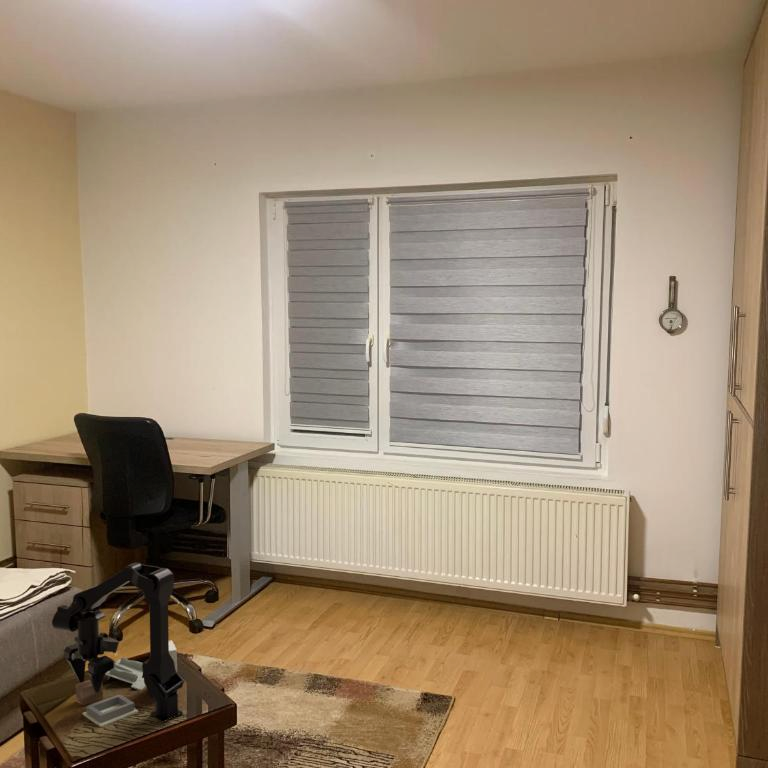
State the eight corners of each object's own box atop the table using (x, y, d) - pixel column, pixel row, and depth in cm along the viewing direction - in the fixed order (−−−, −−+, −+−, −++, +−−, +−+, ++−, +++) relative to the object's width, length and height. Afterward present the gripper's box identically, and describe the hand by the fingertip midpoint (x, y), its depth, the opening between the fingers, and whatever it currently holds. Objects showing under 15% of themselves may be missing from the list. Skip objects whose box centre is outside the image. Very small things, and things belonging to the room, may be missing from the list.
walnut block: (102, 698, 223) (102, 681, 223) (82, 706, 219) (82, 688, 218) (95, 694, 226) (95, 677, 226) (75, 701, 221) (75, 684, 221)
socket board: (138, 712, 215) (138, 703, 215) (100, 726, 207) (100, 717, 207) (119, 700, 222) (119, 692, 221) (82, 714, 213) (82, 705, 213)
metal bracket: (100, 670, 229) (121, 649, 244) (95, 688, 230) (116, 667, 245) (145, 685, 228) (164, 664, 243) (140, 703, 229) (159, 681, 244)
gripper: (131, 633, 221) (132, 687, 222) (98, 617, 233) (99, 668, 234) (94, 645, 213) (95, 701, 213) (62, 628, 225) (63, 680, 226)
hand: (89, 687), depth 222 cm, fingers open, 9 cm apart
